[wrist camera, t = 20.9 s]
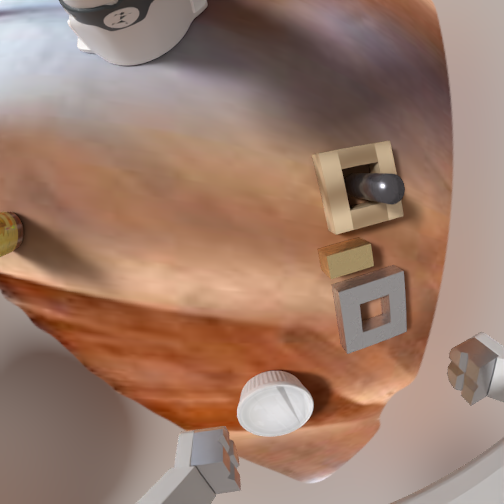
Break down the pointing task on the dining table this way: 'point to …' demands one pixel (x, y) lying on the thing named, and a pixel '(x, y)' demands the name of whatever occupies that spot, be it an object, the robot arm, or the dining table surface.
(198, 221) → the dining table surface
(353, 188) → the dark grey rounded rod
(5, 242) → the sauce bottle
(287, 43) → the dining table surface
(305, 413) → the ramekin
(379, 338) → the socket plate
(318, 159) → the block
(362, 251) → the bar
